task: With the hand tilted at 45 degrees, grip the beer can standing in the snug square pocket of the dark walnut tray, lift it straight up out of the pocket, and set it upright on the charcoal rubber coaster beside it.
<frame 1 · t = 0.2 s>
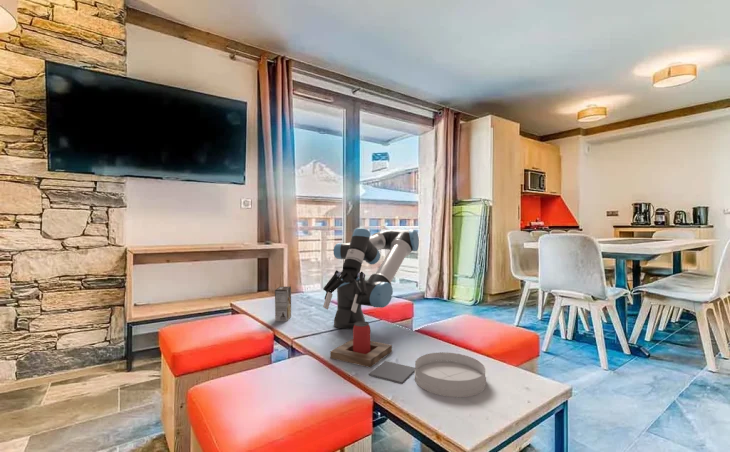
hand: (339, 309, 141), 15 cm above the table, tool tilted 35°, fingers open, 13 cm apart
coffee box: (283, 319, 183), on the table
pocket tray: (361, 354, 134), on the table
beer can: (361, 355, 134), resting in pocket tray
dish: (449, 381, 113), on the table
coaster: (393, 372, 119), on the table
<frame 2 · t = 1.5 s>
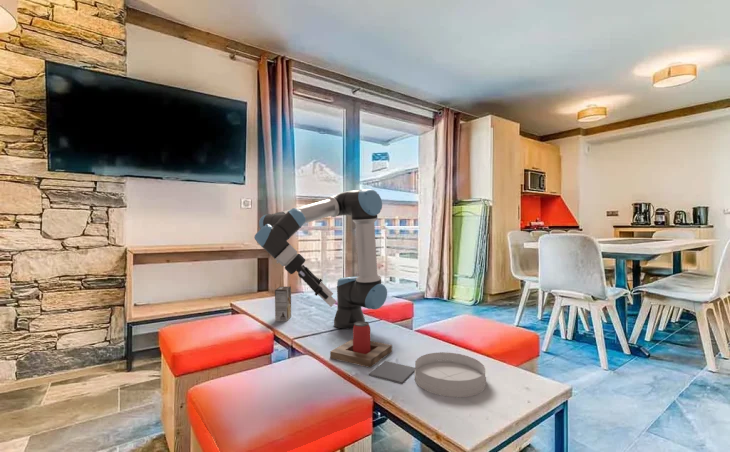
hand: (332, 299, 132), 21 cm above the table, tool tilted 45°, fingers open, 13 cm apart
nothing on the table moved.
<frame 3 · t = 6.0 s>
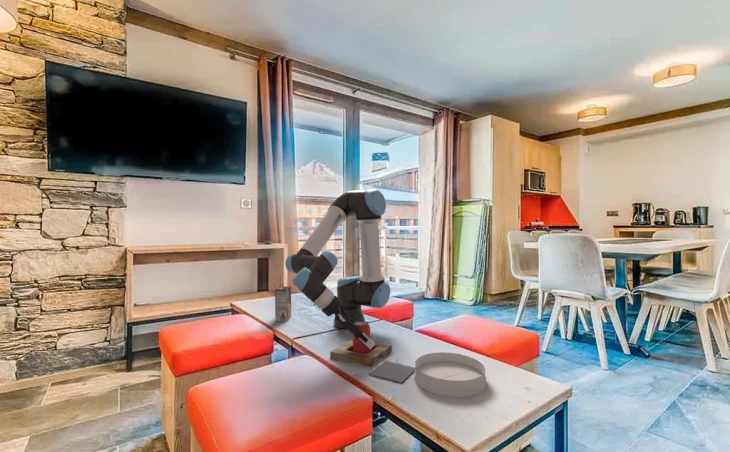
hand: (370, 342, 135), 4 cm above the table, tool tilted 45°, fingers closed on beer can, 7 cm apart
beer can: (361, 355, 134), resting in pocket tray, touching gripper
everything else where it was.
when the fingers open (6 cm above the table, at t = 12.5 s): beer can drops 1 cm, resting on coaster.
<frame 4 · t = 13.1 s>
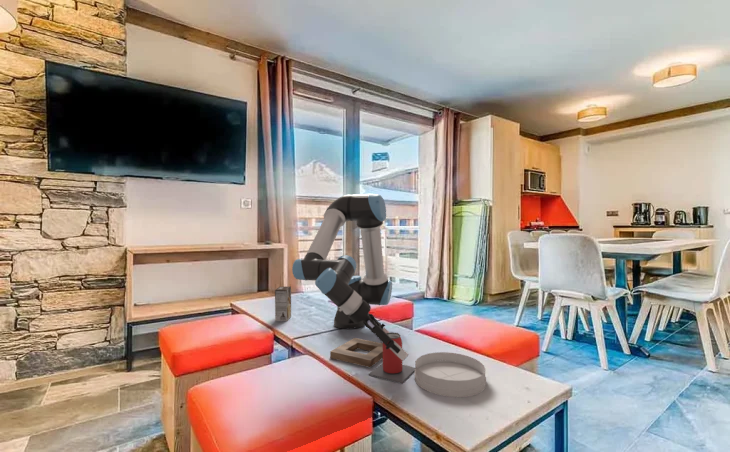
hand: (399, 349, 119), 7 cm above the table, tool tilted 45°, fingers open, 13 cm apart
beer can: (392, 371, 119), resting on coaster
everything else where it was.
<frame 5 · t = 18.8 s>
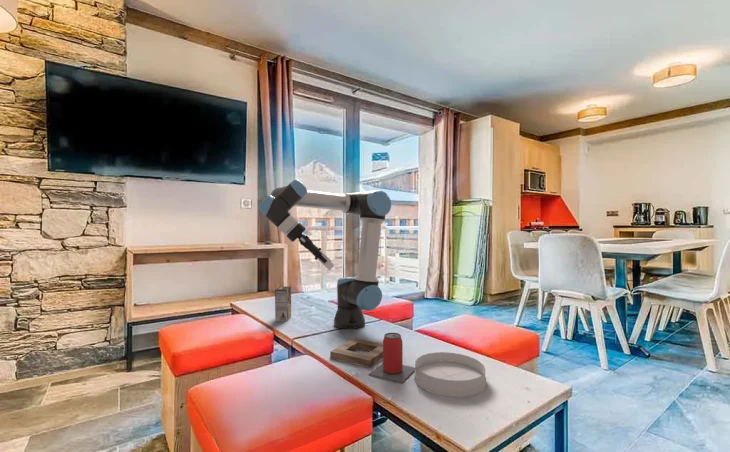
hand: (330, 265, 143), 33 cm above the table, tool tilted 45°, fingers open, 13 cm apart
nothing on the table moved.
at the end: beer can inside the target area on the coaster (0.1 cm from its centre), point 0.3 cm above the coaster's base; beer can tilted 0°; beer can touching coaster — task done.
